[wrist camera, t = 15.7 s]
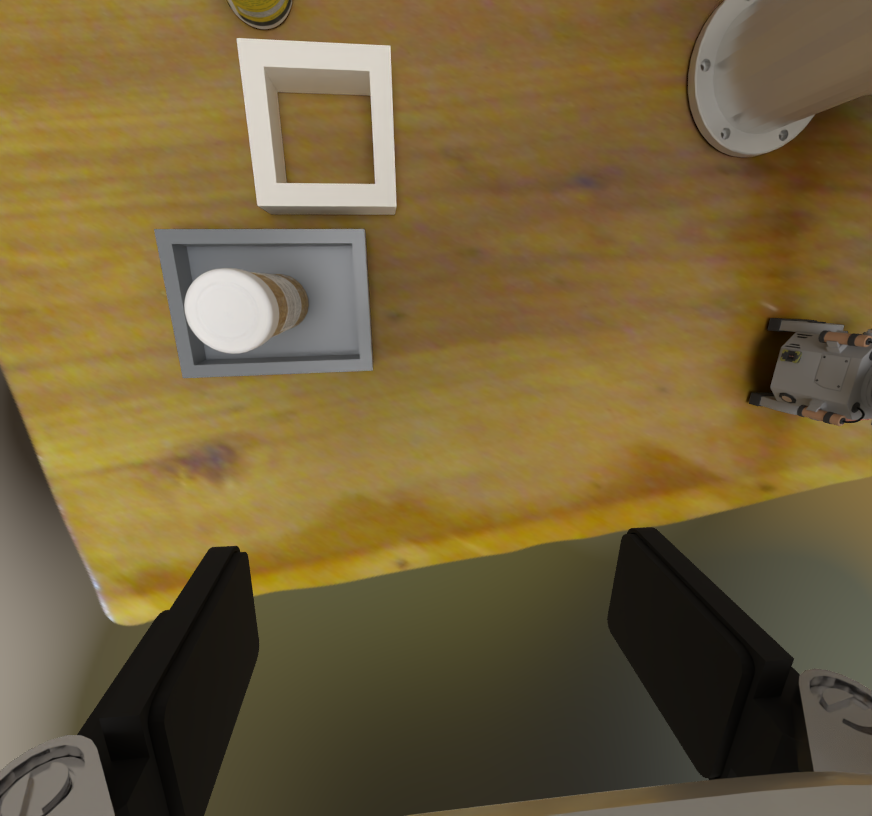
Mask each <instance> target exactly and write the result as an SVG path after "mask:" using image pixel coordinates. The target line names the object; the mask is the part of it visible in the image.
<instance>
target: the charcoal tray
mask: <svg viewBox="0 0 872 816" xmlns="http://www.w3.org/2000/svg"><path fill="white" fill-rule="evenodd" d="M154 231H155V236H156V241H157V246H158V252H159V257H160V262H161V267H162V272H163V278H164V283H165V288H166V293H167V298H168V304H169V309H170V314H171V319H172V324H173V330H174V335H175V340H176V345H177V350H178V356H179V361H180V366H181V371H182V376H183V378H199V377H224V376H249V375H273V374H298V373H323V372H348V371H373V350H372V333H371V315H370V298H369V281H368V264H367V247H366V233H365V230H364V229H154ZM221 268H233V269H241V270H245V271H248V272H254V273H266V274H283V275H286V276H290V277H292V278H293V279H295V280H296V281H298V282H299V283H300V284H301V285H302V287H303V288H304V290H305V291H306V294H307V297H308V304H309V306H308V312H307V314H306V316H305V318H304V319H303V321H302V322H301V323H300V324H299V325H297V326H295V327H293V328H291V329H288V330H286V331H284V332H283V333H281V334H279V335H276V336H273V337H271V338H270V339H269V340H268V341H267V342H266V343H264V344H263V345H261V346H259V347H257V348H255V349H253V350H250V351H248V352H244V353H235V354H233V353H224V352H220V351H217V350H215V349H213V348H211V347H209V346H207V345H206V344H204V343H203V342H202V341H201V340H200V339H199V338H198V337H197V336H196V335H195V334H194V333H193V331H192V330H191V328H190V326H189V325H188V322H187V319H186V315H185V309H184V303H185V296H186V293H187V291H188V289H189V287H190V285H191V284H192V282H193V281H194V280H195V279H196V278H197V277H199V276H200V275H201V274H203V273H205V272H207V271H210V270H214V269H221Z"/></svg>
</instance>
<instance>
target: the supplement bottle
mask: <svg viewBox="0 0 872 816" xmlns="http://www.w3.org/2000/svg"><path fill="white" fill-rule="evenodd" d="M227 2H228V4H229V5H230V7H231V8H232V10H233V11H234V13H235V14H236V15H237V16H238V17H239V18H240V19H241V20H243V21H244V22H245V23H247V24H248V25H250V26H252V27H255V28H258V29H271V28H274V27H276V26H278V25H280V24H281V23H282V22H283V21H284V20H285V18H286V17H287V15H288V14H289V11H290V9H291V5H292V0H227Z"/></svg>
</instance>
